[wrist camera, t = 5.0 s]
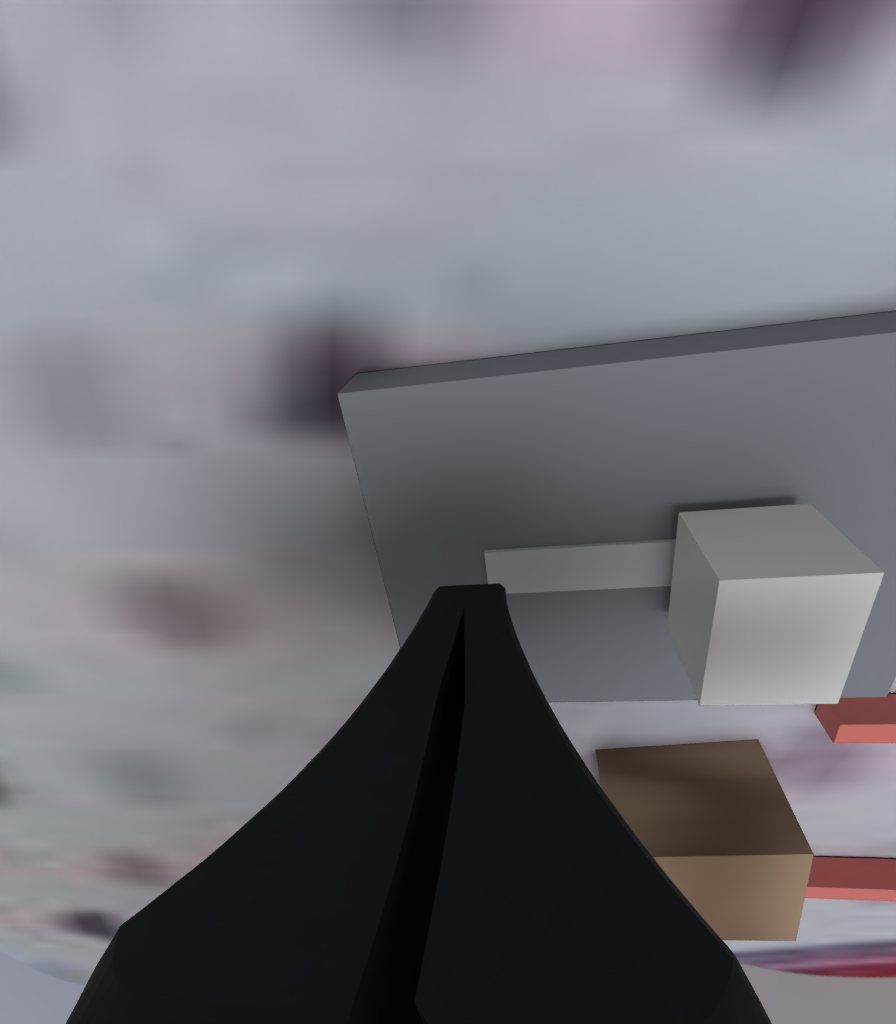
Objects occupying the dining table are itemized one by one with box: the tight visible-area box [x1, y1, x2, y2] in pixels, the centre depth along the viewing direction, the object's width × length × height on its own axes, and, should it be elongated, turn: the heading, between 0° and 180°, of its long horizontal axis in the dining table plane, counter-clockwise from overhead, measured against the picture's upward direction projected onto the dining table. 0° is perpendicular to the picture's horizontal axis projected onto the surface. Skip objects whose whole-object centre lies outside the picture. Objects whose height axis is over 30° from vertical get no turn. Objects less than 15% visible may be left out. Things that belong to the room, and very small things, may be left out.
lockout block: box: [596, 739, 814, 941], centre depth 16 cm, size 5×5×4 cm
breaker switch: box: [667, 504, 884, 706], centre depth 10 cm, size 2×3×2 cm
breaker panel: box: [338, 311, 896, 702], centre depth 12 cm, size 12×9×2 cm
